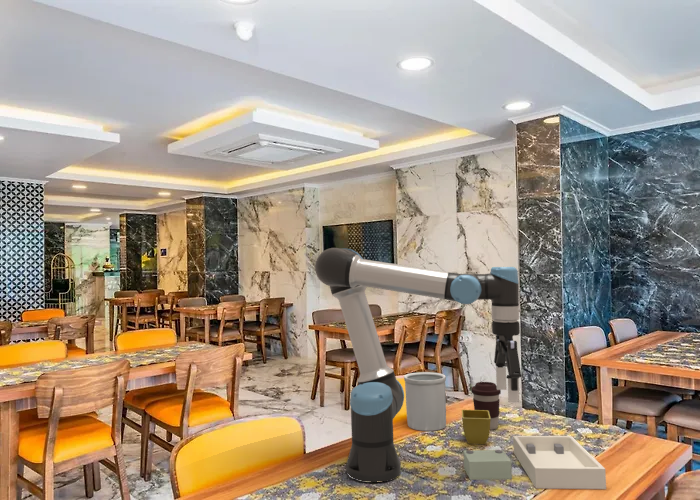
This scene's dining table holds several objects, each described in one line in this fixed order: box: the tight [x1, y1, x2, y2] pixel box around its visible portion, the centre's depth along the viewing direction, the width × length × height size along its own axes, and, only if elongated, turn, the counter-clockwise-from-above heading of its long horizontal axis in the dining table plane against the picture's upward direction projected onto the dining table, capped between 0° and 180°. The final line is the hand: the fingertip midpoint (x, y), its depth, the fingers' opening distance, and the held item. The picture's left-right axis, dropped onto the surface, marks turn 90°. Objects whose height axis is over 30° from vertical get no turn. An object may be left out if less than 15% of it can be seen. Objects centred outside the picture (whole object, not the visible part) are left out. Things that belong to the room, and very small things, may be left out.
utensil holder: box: [403, 371, 447, 432], centre depth 177 cm, size 15×15×18 cm
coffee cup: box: [470, 381, 502, 431], centre depth 173 cm, size 10×10×15 cm
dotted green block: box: [462, 449, 513, 481], centre depth 135 cm, size 11×8×5 cm
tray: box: [512, 435, 607, 490], centre depth 136 cm, size 17×24×5 cm
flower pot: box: [461, 409, 491, 445], centre depth 159 cm, size 9×9×9 cm
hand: (507, 395), depth 141 cm, fingers open, 13 cm apart
